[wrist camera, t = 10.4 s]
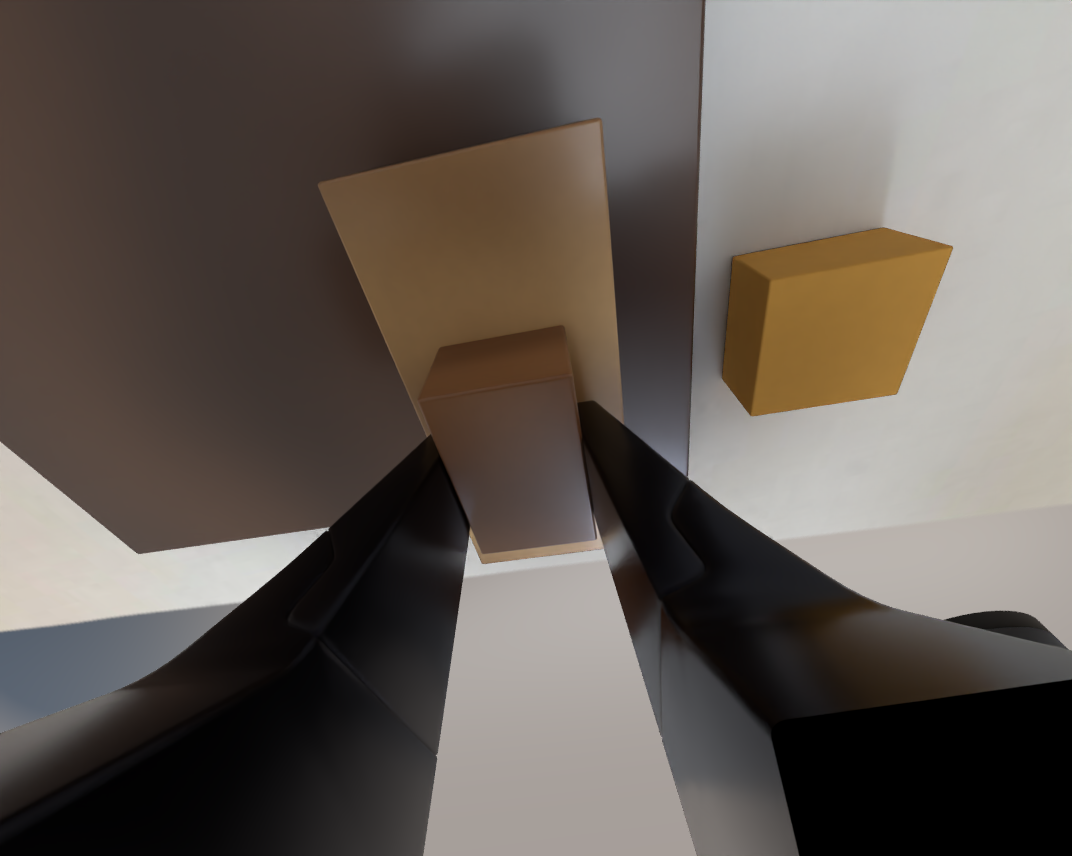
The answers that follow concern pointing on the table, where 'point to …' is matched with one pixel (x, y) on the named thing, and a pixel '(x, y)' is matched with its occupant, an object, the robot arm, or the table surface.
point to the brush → (497, 320)
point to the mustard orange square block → (828, 318)
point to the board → (293, 233)
